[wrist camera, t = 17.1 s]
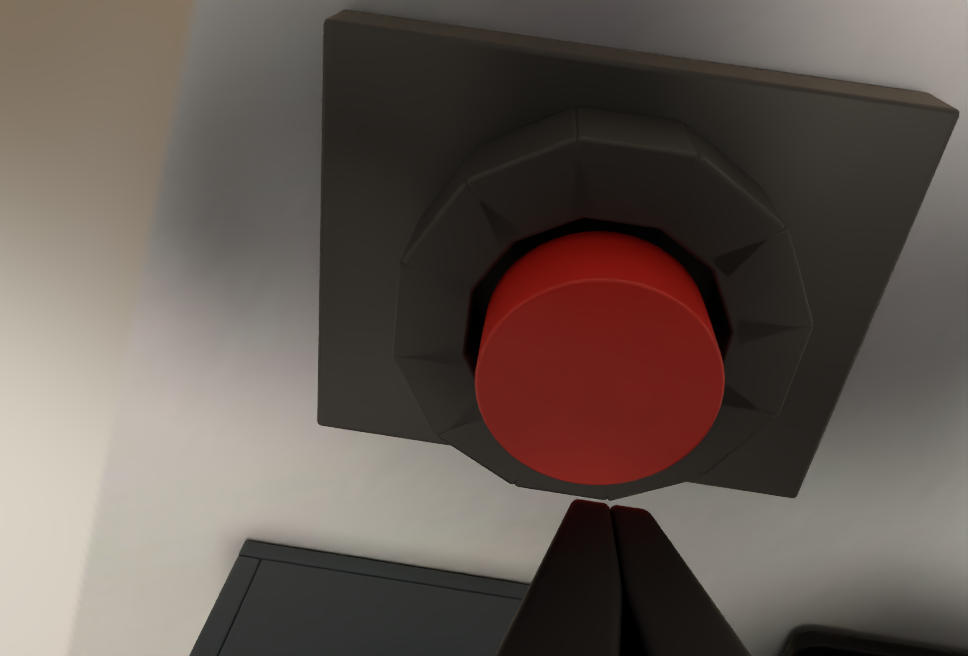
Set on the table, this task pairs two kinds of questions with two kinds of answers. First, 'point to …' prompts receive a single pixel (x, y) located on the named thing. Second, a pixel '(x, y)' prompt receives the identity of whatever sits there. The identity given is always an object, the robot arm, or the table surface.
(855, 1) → the table surface
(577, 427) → the button
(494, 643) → the basket
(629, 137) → the panel
